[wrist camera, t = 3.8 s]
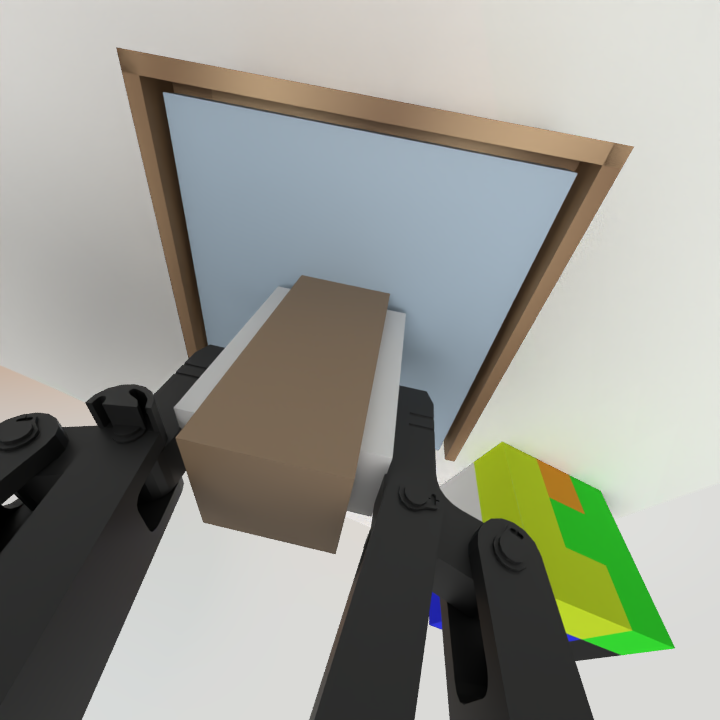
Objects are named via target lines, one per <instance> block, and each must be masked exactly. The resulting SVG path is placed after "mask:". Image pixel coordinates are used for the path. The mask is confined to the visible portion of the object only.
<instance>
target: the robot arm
mask: <svg viewBox="0 0 720 720" xmlns="http://www.w3.org/2000/svg"><path fill="white" fill-rule="evenodd" d="M289 291H290V289H288V288H284V287H279V286H278V287H277V288H276V289H275V291H274V292H273V293H272V294H271V295H270V296H269V298H268V299H267V300H266V301H265V302H264V303H263V305H262V306H261V307H260V308H259V309H258V310H257V311H256V313H255V314H254V315H253V316H252V317H251V318H250V320H249V321H248V322H247V323H246V324H245V325H244V327H243V328H242V329H241V330H240V331H239V332H238V334H237V335H236V336H235V337H234V338H233V339H232V341H231V342H230V343H229V344H228V345H227V346H226V347H225V348H224V347H220V346H215V345H211V344H210V345H208V346H206V347H204V348H202V349H200V350H198V351H197V352H195V353H194V354H193V355H192V356H191V357H190V358H189V359H188V360H187V361H186V362H185V364H184V365H182V366H181V367H180V368H179V369H178V370H177V371H176V374H173V375H172V376H171V378H170V379H169V380H168V381H167V382H166V383H165V384H164V385H163V386H162V387H161V388H160V389H159V390H158V391H157V392H156V393H155V394H154V395H153V393H152V392H151V391H150V390H149V389H147V388H146V387H143V386H139V385H135V384H133V385H119V386H115V387H111V388H108V389H106V390H104V391H101V392H99V393H97V394H95V395H94V396H93V397H92V398H90V399H89V400H88V401H87V402H85V403H86V405H87V407H88V409H89V410H90V412H91V414H92V416H93V418H94V420H95V421H96V423H97V425H98V426H82V427H61V425H60V424H59V422H58V421H57V419H56V418H55V417H53V416H51V415H50V414H44V413H31V414H23V415H20V416H17V417H14V418H11V419H8V420H5V421H3V422H2V423H0V720H82V718H83V715H84V713H85V711H86V708H87V706H88V704H89V702H90V699H91V697H92V695H93V693H94V691H95V688H96V686H97V684H98V681H99V679H100V677H101V674H102V672H103V670H104V668H105V666H106V663H107V661H108V658H109V656H110V654H111V652H112V650H113V647H114V645H115V643H116V640H117V638H118V636H119V634H120V631H121V629H122V627H123V625H124V622H125V620H126V618H127V615H128V613H129V611H130V609H131V606H132V604H133V602H134V600H135V597H136V595H137V593H138V590H139V588H140V586H141V584H142V581H143V579H144V577H145V574H146V572H147V570H148V568H149V565H150V563H151V561H152V559H153V556H154V554H155V552H156V549H157V547H158V545H159V543H160V540H161V538H162V536H163V534H164V531H165V529H166V527H167V524H168V522H169V520H170V518H171V515H172V513H173V511H174V508H175V506H176V504H177V502H178V499H179V497H180V495H181V493H182V489H183V484H184V483H183V479H182V475H183V474H184V473H185V471H186V468H185V465H184V462H183V459H182V456H181V453H180V450H179V447H178V444H177V441H176V436H177V435H178V434H179V432H180V431H181V430H182V429H183V427H184V426H185V425H186V423H187V422H188V421H189V420H190V418H191V417H192V416H193V414H194V413H195V412H196V411H197V409H198V408H199V407H200V405H201V404H202V403H203V401H204V400H205V399H206V398H207V396H208V395H209V394H210V392H211V391H212V390H213V389H214V387H215V386H216V385H217V383H218V382H219V381H220V380H221V378H222V377H223V376H224V374H225V373H226V372H227V371H228V369H229V368H230V367H231V365H232V364H233V363H234V362H235V360H236V359H237V358H238V356H239V355H240V354H241V352H242V351H243V350H244V349H245V347H246V346H247V345H248V343H249V342H250V341H251V340H252V338H253V337H254V336H255V334H256V333H257V332H258V331H259V329H260V328H261V327H262V325H263V324H264V323H265V322H266V320H267V319H268V318H269V316H270V315H271V314H272V313H273V311H274V310H275V309H276V307H277V306H278V305H279V303H280V302H281V301H282V300H283V298H284V297H285V296H286V294H287V293H288V292H289ZM405 318H406V314H405V313H401V312H396V311H391V310H387V313H386V318H385V323H384V328H383V334H382V339H381V344H380V349H379V355H378V360H377V365H376V370H375V375H374V381H373V386H372V391H371V396H370V402H369V407H368V412H367V417H366V422H365V428H364V433H363V438H362V443H361V449H360V454H359V459H358V464H357V469H356V475H355V480H354V484H353V488H352V491H351V495H350V499H349V503H348V507H347V511H350V512H354V513H358V514H362V515H367V516H372V513H373V516H372V524H371V529H370V531H369V534H368V537H367V539H366V542H365V544H364V549H363V552H362V556H361V559H360V562H359V565H358V568H357V571H356V574H355V578H354V581H353V584H352V587H351V591H350V593H349V596H348V600H347V603H346V606H345V609H344V612H343V615H342V619H341V622H340V625H339V628H338V631H337V634H336V637H335V641H334V644H333V647H332V650H331V653H330V656H329V660H328V663H327V666H326V669H325V672H324V676H323V678H322V681H321V685H320V688H319V691H318V694H317V697H316V700H315V704H314V707H313V710H312V713H311V716H310V719H309V720H414V719H415V712H416V705H417V697H418V689H419V683H420V676H421V668H422V662H423V654H424V646H425V640H426V632H427V626H428V618H429V611H430V604H431V597H432V592H433V593H435V594H436V595H438V596H439V597H440V607H441V619H442V631H443V643H444V656H445V667H446V679H447V691H448V704H449V716H450V720H594V719H593V716H592V712H591V709H590V706H589V703H588V700H587V697H586V694H585V690H584V687H583V684H582V681H581V678H580V675H579V672H578V669H577V666H576V663H575V659H574V656H573V653H572V650H571V647H570V644H569V640H568V637H567V634H566V631H565V628H564V625H563V622H562V619H561V615H560V612H559V609H558V606H557V603H556V600H555V597H554V594H553V591H552V587H551V584H550V581H549V578H548V575H547V572H546V569H545V566H544V562H543V559H542V556H541V554H540V552H539V550H538V548H537V546H536V544H535V542H534V541H533V540H532V538H531V537H530V536H529V535H528V534H527V533H526V531H525V530H523V529H522V528H520V527H519V526H518V525H516V524H515V523H514V522H511V521H508V520H505V519H502V518H493V519H489V520H488V521H486V522H484V523H483V522H482V521H480V520H478V519H476V518H475V517H473V516H471V515H469V514H468V513H466V512H464V511H462V510H461V509H459V508H458V507H456V506H455V505H454V504H452V503H451V502H450V501H449V500H448V499H447V498H446V497H445V495H444V494H443V492H442V491H441V489H440V487H439V484H438V482H437V477H436V460H435V432H434V404H433V402H432V400H431V398H430V396H429V395H428V393H427V391H423V390H419V389H414V388H410V387H405V386H401V385H399V383H400V372H401V361H402V351H403V340H404V329H405ZM13 494H15V495H16V496H17V497H18V499H17V500H15V501H14V502H13V503H11V504H8V505H4V506H2V505H1V504H3V503H4V502H5V501H6V500H7V499H8V498H10V497H11V496H12V495H13Z"/></svg>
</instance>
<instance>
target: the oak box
mask: <svg viewBox="0 0 720 720" xmlns="http://www.w3.org/2000/svg"><path fill="white" fill-rule="evenodd" d="M117 53H118V57H119V61H120V66H121V70H122V74H123V79H124V83H125V87H126V91H127V96H128V100H129V104H130V109H131V113H132V117H133V122H134V126H135V130H136V134H137V139H138V143H139V147H140V152H141V156H142V160H143V165H144V169H145V173H146V177H147V182H148V186H149V190H150V195H151V199H152V203H153V207H154V212H155V216H156V220H157V225H158V229H159V233H160V238H161V242H162V246H163V250H164V255H165V259H166V263H167V268H168V272H169V276H170V281H171V285H172V289H173V293H174V298H175V302H176V306H177V311H178V315H179V319H180V324H181V328H182V332H183V336H184V341H185V345H186V349H187V354H188V358H190V357H191V356H192V355H193V354H194V353H195V352H197V351H198V350H200V349H202V348H204V347H206V346H208V342H207V336H206V331H205V325H204V320H203V314H202V308H201V303H200V297H199V292H198V286H197V280H196V275H195V269H194V264H193V258H192V252H191V247H190V241H189V236H188V230H187V224H186V219H185V213H184V208H183V202H182V196H181V191H180V185H179V180H178V174H177V168H176V163H175V157H174V152H173V146H172V140H171V135H170V129H169V124H168V118H167V112H166V107H165V101H164V96H163V92H168V93H178V94H186V95H191V96H196V97H201V98H206V99H211V100H216V101H222V102H227V103H232V104H237V105H242V106H247V107H252V108H257V109H263V110H268V111H273V112H278V113H283V114H288V115H293V116H298V117H304V118H309V119H314V120H319V121H324V122H329V123H334V124H339V125H345V126H350V127H355V128H360V129H365V130H370V131H375V132H380V133H385V134H391V135H396V136H401V137H406V138H411V139H416V140H421V141H426V142H432V143H437V144H442V145H447V146H452V147H457V148H462V149H467V150H473V151H478V152H483V153H488V154H493V155H498V156H503V157H508V158H514V159H519V160H524V161H529V162H534V163H539V164H544V165H549V166H555V167H560V168H565V169H568V170H571V171H573V172H576V173H578V174H577V176H576V178H575V180H574V182H573V184H572V186H571V188H570V190H569V192H568V194H567V196H566V198H565V200H564V202H563V204H562V206H561V208H560V210H559V212H558V214H557V216H556V218H555V220H554V222H553V224H552V226H551V228H550V230H549V232H548V234H547V236H546V238H545V240H544V242H543V244H542V246H541V248H540V250H539V252H538V254H537V256H536V258H535V260H534V262H533V263H532V265H531V267H530V269H529V271H528V273H527V275H526V277H525V279H524V281H523V283H522V285H521V287H520V289H519V291H518V293H517V295H516V297H515V299H514V301H513V303H512V305H511V307H510V309H509V311H508V313H507V315H506V317H505V319H504V321H503V323H502V325H501V327H500V329H499V331H498V333H497V335H496V337H495V339H494V341H493V343H492V345H491V347H490V349H489V351H488V353H487V355H486V357H485V359H484V361H483V363H482V365H481V367H480V369H479V371H478V373H477V375H476V377H475V379H474V381H473V383H472V385H471V387H470V389H469V391H468V393H467V395H466V397H465V399H464V401H463V403H462V405H461V407H460V409H459V411H458V413H457V415H456V417H455V419H454V421H453V423H452V425H451V427H450V429H449V431H448V433H447V435H446V437H445V439H444V453H445V459H446V460H450V461H455V459H456V457H457V456H458V454H459V452H460V450H461V449H462V447H463V445H464V443H465V442H466V440H467V438H468V436H469V435H470V433H471V431H472V429H473V428H474V426H475V424H476V422H477V421H478V419H479V417H480V415H481V414H482V412H483V410H484V408H485V407H486V405H487V403H488V401H489V400H490V398H491V396H492V394H493V393H494V391H495V389H496V387H497V386H498V384H499V382H500V380H501V379H502V377H503V375H504V373H505V372H506V370H507V368H508V366H509V365H510V363H511V361H512V359H513V358H514V356H515V354H516V352H517V351H518V349H519V347H520V345H521V344H522V342H523V340H524V338H525V337H526V335H527V333H528V331H529V330H530V328H531V326H532V324H533V323H534V321H535V319H536V317H537V316H538V314H539V312H540V310H541V309H542V307H543V305H544V303H545V302H546V300H547V298H548V296H549V295H550V293H551V291H552V289H553V288H554V286H555V284H556V282H557V281H558V279H559V277H560V275H561V274H562V272H563V270H564V268H565V267H566V265H567V263H568V261H569V260H570V258H571V256H572V254H573V253H574V251H575V249H576V247H577V246H578V244H579V242H580V240H581V239H582V237H583V235H584V233H585V232H586V230H587V228H588V226H589V225H590V223H591V221H592V219H593V218H594V216H595V214H596V212H597V211H598V209H599V207H600V205H601V204H602V202H603V200H604V198H605V197H606V195H607V193H608V191H609V190H610V188H611V186H612V184H613V183H614V181H615V179H616V177H617V176H618V174H619V172H620V170H621V169H622V167H623V165H624V163H625V162H626V160H627V158H628V156H629V155H630V153H631V151H632V149H633V148H634V147H633V146H628V145H623V144H617V143H612V142H607V141H602V140H596V139H591V138H586V137H581V136H576V135H570V134H565V133H560V132H555V131H549V130H544V129H539V128H534V127H529V126H523V125H518V124H513V123H508V122H503V121H497V120H492V119H487V118H482V117H476V116H471V115H466V114H461V113H456V112H450V111H445V110H440V109H435V108H429V107H424V106H419V105H414V104H409V103H403V102H398V101H393V100H388V99H383V98H377V97H372V96H367V95H362V94H356V93H351V92H346V91H341V90H336V89H330V88H325V87H320V86H315V85H309V84H304V83H299V82H294V81H289V80H283V79H278V78H273V77H268V76H263V75H257V74H252V73H247V72H242V71H236V70H231V69H226V68H221V67H216V66H210V65H205V64H200V63H195V62H189V61H184V60H179V59H174V58H169V57H163V56H158V55H153V54H148V53H142V52H137V51H132V50H127V49H122V48H117Z"/></svg>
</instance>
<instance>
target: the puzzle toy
mask: <svg viewBox="0 0 720 720" xmlns="http://www.w3.org/2000/svg"><path fill="white" fill-rule="evenodd" d="M440 489H441V491H442V492H443V494H444V495H445V497H446V498H447V499H448V500H449V501H450V502H451V503H452V504H454V505H455V506H456V507H458V508H459V509H461V510H462V511H464V512H466V513H468V514H469V515H471V516H473V517H475V518H476V519H478V520H480V521H482V522H483V523H484V522H486V521H488V520H489V519H493V518H502V519H505V520H508V521H511V522H514V523H515V524H516V525H518V526H519V527H520V528H522V529H523V530H525V531H526V533H527V534H528V535H529V536H530V537H531V538H532V540H533V541H534V542H535V544H536V546H537V548H538V550H539V552H540V554H541V556H542V559H543V562H544V566H545V569H546V572H547V575H548V578H549V581H550V584H551V587H552V591H553V594H554V597H555V600H556V603H557V606H558V609H559V612H560V615H561V619H562V622H563V625H564V628H565V631H566V634H567V637H568V640H569V644H570V647H571V650H572V653H573V656H574V659H575V661H579V660H587V659H595V658H602V657H611V656H619V655H627V654H634V653H642V652H650V651H658V650H666V649H673V648H675V647H674V645H673V643H672V641H671V639H670V637H669V634H668V632H667V630H666V628H665V626H664V624H663V622H662V620H661V618H660V616H659V614H658V611H657V609H656V607H655V605H654V603H653V601H652V599H651V596H650V594H649V592H648V590H647V588H646V586H645V584H644V582H643V580H642V577H641V575H640V573H639V571H638V569H637V567H636V565H635V563H634V561H633V558H632V557H631V554H630V552H629V550H628V548H627V546H626V544H625V542H624V540H623V537H622V535H621V533H620V531H619V529H618V527H617V525H616V523H615V520H614V518H613V516H612V514H611V512H610V510H609V508H608V506H607V504H606V501H605V499H604V497H603V495H602V493H601V491H600V490H598V489H596V488H594V487H592V486H590V485H588V484H586V483H584V482H582V481H580V480H578V479H576V478H574V477H572V476H570V475H568V474H566V473H564V472H562V471H560V470H558V469H556V468H554V467H552V466H550V465H548V464H546V463H544V462H542V461H540V460H538V459H536V458H534V457H532V456H530V455H528V454H526V453H524V452H522V451H520V450H518V449H516V448H514V447H512V446H510V445H508V444H506V443H504V442H501V443H500V444H498V445H497V446H496V447H494V448H493V449H491V450H490V451H489V452H487V453H486V454H485V455H483V456H482V457H480V458H479V459H478V460H476V461H475V462H473V463H472V464H471V465H469V466H468V467H467V468H465V469H464V470H462V471H461V472H460V473H458V474H457V475H455V476H454V477H453V478H451V479H450V480H449V481H447V482H446V483H444V484H443V485H442V486H440ZM429 625H431V626H434V627H437V628H439V629H442V619H441V607H440V597H439V596H438V595H436V594H435V593H433V592H432V597H431V604H430V611H429Z"/></svg>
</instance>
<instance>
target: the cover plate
mask: <svg viewBox="0 0 720 720" xmlns="http://www.w3.org/2000/svg"><path fill="white" fill-rule="evenodd" d="M163 96H164V101H165V107H166V112H167V118H168V124H169V129H170V135H171V140H172V146H173V152H174V157H175V163H176V168H177V174H178V180H179V185H180V191H181V196H182V202H183V208H184V213H185V219H186V224H187V230H188V236H189V241H190V247H191V252H192V258H193V264H194V269H195V275H196V280H197V286H198V292H199V297H200V303H201V308H202V314H203V320H204V325H205V331H206V336H207V342H208V345H210V344H211V345H215V346H220V347H224V348H225V347H226V346H227V345H228V344H229V343H230V342H231V341H232V339H233V338H234V337H235V336H236V335H237V334H238V332H239V331H240V330H241V329H242V328H243V327H244V325H245V324H246V323H247V322H248V321H249V320H250V318H251V317H252V316H253V315H254V314H255V313H256V311H257V310H258V309H259V308H260V307H261V306H262V305H263V303H264V302H265V301H266V300H267V299H268V298H269V296H270V295H271V294H272V293H273V292H274V291H275V289H276V288H277V287H278V286H279V287H284V288H288V289H290V291H289V292H288V293H287V294H286V296H285V297H284V298H283V300H282V301H281V302H280V303H279V305H278V306H277V307H276V309H275V310H274V311H273V313H272V314H271V315H270V316H269V318H268V319H267V320H266V322H265V323H264V324H263V325H262V327H261V328H260V329H259V331H258V332H257V333H256V334H255V336H254V337H253V338H252V340H251V341H250V342H249V343H248V345H247V346H246V347H245V349H244V350H243V351H242V352H241V354H240V355H239V356H238V358H237V359H236V360H235V362H234V363H233V364H232V365H231V367H230V368H229V369H228V371H227V372H226V373H225V374H224V376H223V377H222V378H221V380H220V381H219V382H218V383H217V385H216V386H215V387H214V389H213V390H212V391H211V392H210V394H209V395H208V396H207V398H206V399H205V400H204V401H203V403H202V404H201V405H200V407H199V408H198V409H197V411H196V412H195V413H194V414H193V416H192V417H191V418H190V420H189V421H188V422H187V423H186V425H185V426H184V427H183V429H182V430H181V431H180V432H179V434H178V435H177V436H176V441H177V444H178V447H179V450H180V453H181V456H182V459H183V462H184V465H185V468H186V471H187V474H188V477H189V480H190V483H191V487H192V490H193V492H194V496H195V498H196V501H197V505H198V508H199V511H200V514H201V517H202V520H203V522H204V523H208V524H212V525H216V526H220V527H224V528H229V529H233V530H237V531H241V532H245V533H249V534H254V535H258V536H262V537H266V538H270V539H274V540H279V541H283V542H287V543H291V544H296V545H300V546H304V547H308V548H312V549H316V550H320V551H325V552H329V553H333V554H336V550H337V546H338V542H339V538H340V534H341V531H342V527H343V523H344V519H345V515H346V511H347V507H348V503H349V499H350V495H351V491H352V488H353V484H354V480H355V475H356V469H357V464H358V459H359V454H360V449H361V443H362V438H363V433H364V428H365V422H366V417H367V412H368V407H369V402H370V396H371V391H372V386H373V381H374V375H375V370H376V365H377V360H378V355H379V349H380V344H381V339H382V334H383V328H384V323H385V318H386V313H387V310H391V311H396V312H401V313H405V314H406V318H405V329H404V340H403V351H402V361H401V372H400V383H399V385H401V386H405V387H410V388H414V389H419V390H423V391H427V393H428V395H429V396H430V398H431V400H432V402H433V404H434V432H435V449H436V450H439V449H440V447H441V445H442V443H443V441H444V439H445V437H446V435H447V433H448V431H449V429H450V427H451V425H452V423H453V421H454V419H455V417H456V415H457V413H458V411H459V409H460V407H461V405H462V403H463V401H464V399H465V397H466V395H467V393H468V391H469V389H470V387H471V385H472V383H473V381H474V379H475V377H476V375H477V373H478V371H479V369H480V367H481V365H482V363H483V361H484V359H485V357H486V355H487V353H488V351H489V349H490V347H491V345H492V343H493V341H494V339H495V337H496V335H497V333H498V331H499V329H500V327H501V325H502V323H503V321H504V319H505V317H506V315H507V313H508V311H509V309H510V307H511V305H512V303H513V301H514V299H515V297H516V295H517V293H518V291H519V289H520V287H521V285H522V283H523V281H524V279H525V277H526V275H527V273H528V271H529V269H530V267H531V265H532V263H533V262H534V260H535V258H536V256H537V254H538V252H539V250H540V248H541V246H542V244H543V242H544V240H545V238H546V236H547V234H548V232H549V230H550V228H551V226H552V224H553V222H554V220H555V218H556V216H557V214H558V212H559V210H560V208H561V206H562V204H563V202H564V200H565V198H566V196H567V194H568V192H569V190H570V188H571V186H572V184H573V182H574V180H575V178H576V176H577V174H578V173H576V172H573V171H571V170H568V169H565V168H560V167H555V166H549V165H544V164H539V163H534V162H529V161H524V160H519V159H514V158H508V157H503V156H498V155H493V154H488V153H483V152H478V151H473V150H467V149H462V148H457V147H452V146H447V145H442V144H437V143H432V142H426V141H421V140H416V139H411V138H406V137H401V136H396V135H391V134H385V133H380V132H375V131H370V130H365V129H360V128H355V127H350V126H345V125H339V124H334V123H329V122H324V121H319V120H314V119H309V118H304V117H298V116H293V115H288V114H283V113H278V112H273V111H268V110H263V109H257V108H252V107H247V106H242V105H237V104H232V103H227V102H222V101H216V100H211V99H206V98H201V97H196V96H191V95H186V94H178V93H168V92H163Z"/></svg>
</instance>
